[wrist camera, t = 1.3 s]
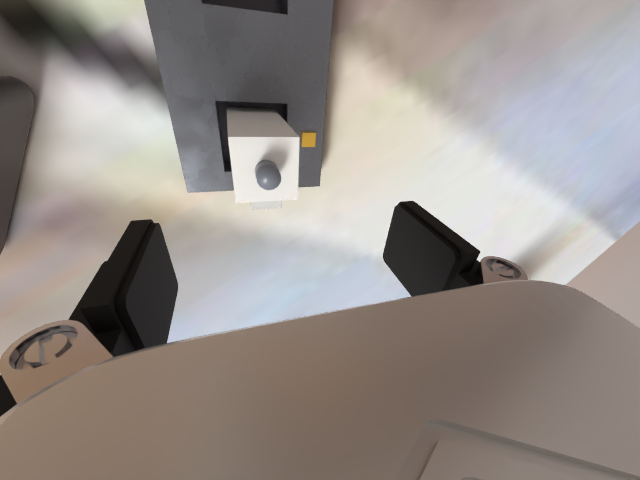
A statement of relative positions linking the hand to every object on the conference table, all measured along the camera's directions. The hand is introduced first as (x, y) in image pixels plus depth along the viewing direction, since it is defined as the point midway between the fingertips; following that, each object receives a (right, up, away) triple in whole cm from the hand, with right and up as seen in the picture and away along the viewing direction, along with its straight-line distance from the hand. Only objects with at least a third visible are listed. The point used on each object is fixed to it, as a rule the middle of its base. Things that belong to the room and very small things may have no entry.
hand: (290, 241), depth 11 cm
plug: (-5, +10, +13) cm, 17 cm away
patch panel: (-5, +14, +10) cm, 18 cm away
